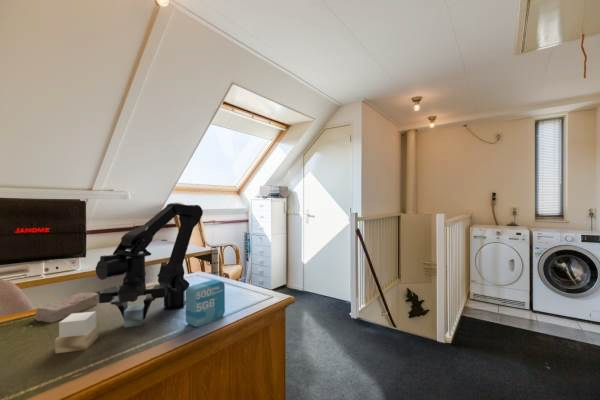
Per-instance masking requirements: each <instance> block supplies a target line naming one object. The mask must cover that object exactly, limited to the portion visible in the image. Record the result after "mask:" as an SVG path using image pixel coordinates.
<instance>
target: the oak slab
mask: <svg viewBox="0 0 600 400" xmlns="http://www.w3.org/2000/svg"><path fill="white" fill-rule="evenodd" d="M98 338H99V324H98V323H96V326H95V327H94V328H93V329H92V330H91V331H89V332H88V333H87V334H86V335H81V336H71V337H62V338H59V335H58V336H57V337H56V338H55V339H54V353H55V354H60V353H69V352H70V353H71V352H77V351H78V352H79V351H86V350H88V349H89V348H90V347H91V346H92V345H93V343H95V341H97V339H98Z"/></svg>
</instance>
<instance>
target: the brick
mask: <svg viewBox="0 0 600 400" xmlns="http://www.w3.org/2000/svg"><path fill="white" fill-rule="evenodd" d="M98 304H99V297H98V294H97V293H95V292H79V293H76V294H73V295H71V296H68V297H66V298H63V299H60V300H57V301H54V302H51V303H48V304H44V305H42V306H39V307H37V308H36V312H35V320H36V321H37V322H44V323H45V322H46V323H54V322H57V321H60V320H61V321H62V320H63V319H65V318H66V317H68V316H69V315H71V314H73V313H81V312H82V311H86V310H88V309H90V308H92V307H94V306H97V305H98Z"/></svg>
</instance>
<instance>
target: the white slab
mask: <svg viewBox="0 0 600 400" xmlns="http://www.w3.org/2000/svg"><path fill="white" fill-rule="evenodd" d="M96 324H97V311H95V310H94V311H85V312H78V313H73V314H71V315H69V316H68V317H65V318H63V319H61V321H59V322H58V336H59V338H62V337H71V336H81V335H86V334H87V333H88V332H89V331H91V330H92V329H93V328H94V327H95V326H96Z"/></svg>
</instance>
